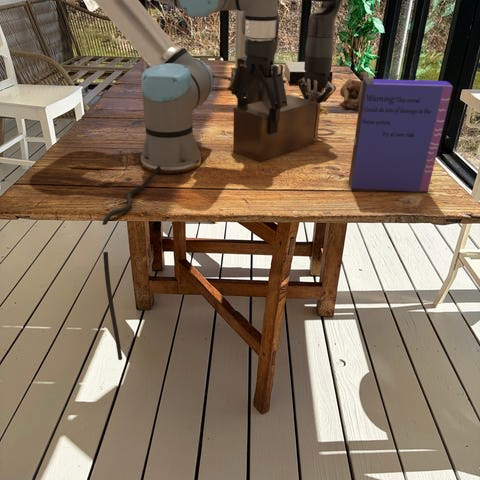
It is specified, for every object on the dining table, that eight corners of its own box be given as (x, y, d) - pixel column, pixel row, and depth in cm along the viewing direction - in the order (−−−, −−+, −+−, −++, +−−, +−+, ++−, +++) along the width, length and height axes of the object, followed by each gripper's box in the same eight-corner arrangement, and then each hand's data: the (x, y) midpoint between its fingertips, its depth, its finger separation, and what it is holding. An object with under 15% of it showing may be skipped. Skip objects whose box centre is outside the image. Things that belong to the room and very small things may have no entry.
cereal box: (422, 183, 114) (445, 80, 101) (427, 192, 110) (453, 85, 97) (348, 180, 115) (363, 77, 102) (351, 189, 111) (366, 83, 98)
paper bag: (273, 76, 210) (276, 6, 196) (239, 77, 209) (240, 6, 194) (266, 67, 226) (268, 2, 212) (235, 67, 225) (235, 1, 210)
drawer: (305, 126, 148) (308, 93, 143) (329, 133, 142) (333, 99, 137) (244, 144, 133) (245, 109, 127) (268, 154, 127) (270, 117, 122)
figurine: (210, 87, 179) (288, 95, 182) (212, 65, 176) (291, 73, 180) (208, 84, 201) (278, 91, 205) (210, 64, 198) (280, 71, 202)
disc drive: (289, 84, 198) (290, 71, 196) (284, 72, 218) (284, 61, 215) (331, 84, 199) (332, 72, 196) (322, 72, 218) (323, 61, 215)
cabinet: (285, 134, 144) (288, 94, 138) (313, 143, 137) (317, 102, 131) (233, 150, 131) (233, 107, 125) (260, 161, 125) (262, 116, 119)
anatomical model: (349, 110, 180) (352, 112, 166) (333, 93, 179) (334, 95, 165) (374, 84, 176) (379, 84, 162) (358, 67, 175) (361, 66, 161)
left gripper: (307, 43, 110) (299, 135, 122) (239, 31, 125) (238, 115, 136) (285, 46, 106) (279, 142, 117) (217, 34, 120) (218, 120, 132)
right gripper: (346, 55, 130) (339, 118, 139) (309, 49, 138) (304, 108, 147) (329, 58, 125) (323, 123, 134) (292, 51, 134) (288, 113, 143)
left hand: (257, 127), depth 127 cm, fingers closed on cabinet, 11 cm apart
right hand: (313, 115), depth 141 cm, fingers closed
